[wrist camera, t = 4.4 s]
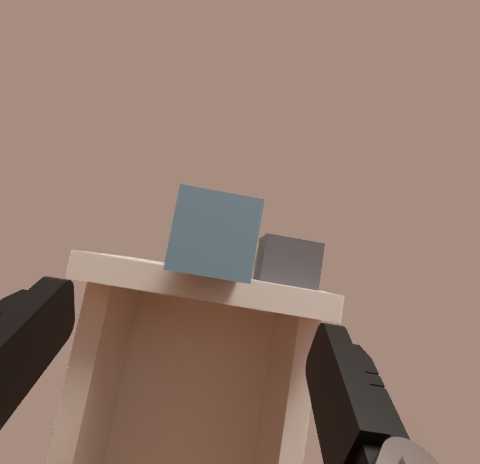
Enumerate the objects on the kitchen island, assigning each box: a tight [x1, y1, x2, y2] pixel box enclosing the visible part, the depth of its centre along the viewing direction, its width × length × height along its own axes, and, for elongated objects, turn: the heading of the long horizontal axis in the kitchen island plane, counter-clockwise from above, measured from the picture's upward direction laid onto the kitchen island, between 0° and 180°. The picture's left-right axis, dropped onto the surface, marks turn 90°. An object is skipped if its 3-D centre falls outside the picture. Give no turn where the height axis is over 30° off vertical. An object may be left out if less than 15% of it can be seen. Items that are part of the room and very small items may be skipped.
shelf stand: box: [46, 250, 344, 464], centre depth 28 cm, size 20×16×32 cm
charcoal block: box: [253, 234, 325, 291], centre depth 29 cm, size 5×5×4 cm
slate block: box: [163, 184, 264, 284], centre depth 25 cm, size 4×22×4 cm, turn 4°
